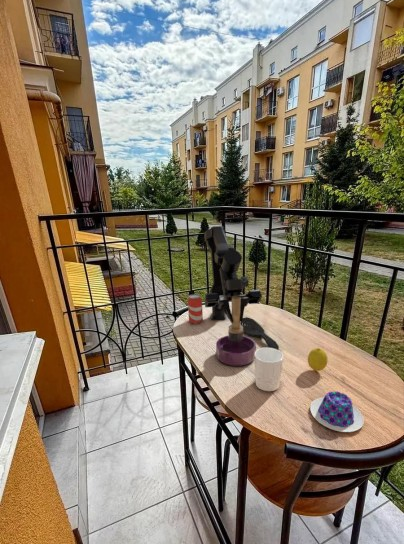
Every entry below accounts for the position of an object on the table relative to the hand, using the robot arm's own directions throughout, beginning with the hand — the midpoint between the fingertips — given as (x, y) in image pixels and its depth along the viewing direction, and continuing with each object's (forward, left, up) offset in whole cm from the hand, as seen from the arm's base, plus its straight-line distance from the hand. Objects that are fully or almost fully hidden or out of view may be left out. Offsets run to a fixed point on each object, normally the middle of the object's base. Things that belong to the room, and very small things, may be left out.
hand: (236, 322), depth 91 cm
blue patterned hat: (+26, +23, -14) cm, 38 cm away
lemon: (+7, +24, -14) cm, 29 cm away
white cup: (+14, +8, -14) cm, 21 cm away
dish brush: (-1, 0, -7) cm, 7 cm away
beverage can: (-30, -17, -14) cm, 37 cm away
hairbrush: (-15, +10, -14) cm, 23 cm away
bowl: (-1, 0, -13) cm, 13 cm away
